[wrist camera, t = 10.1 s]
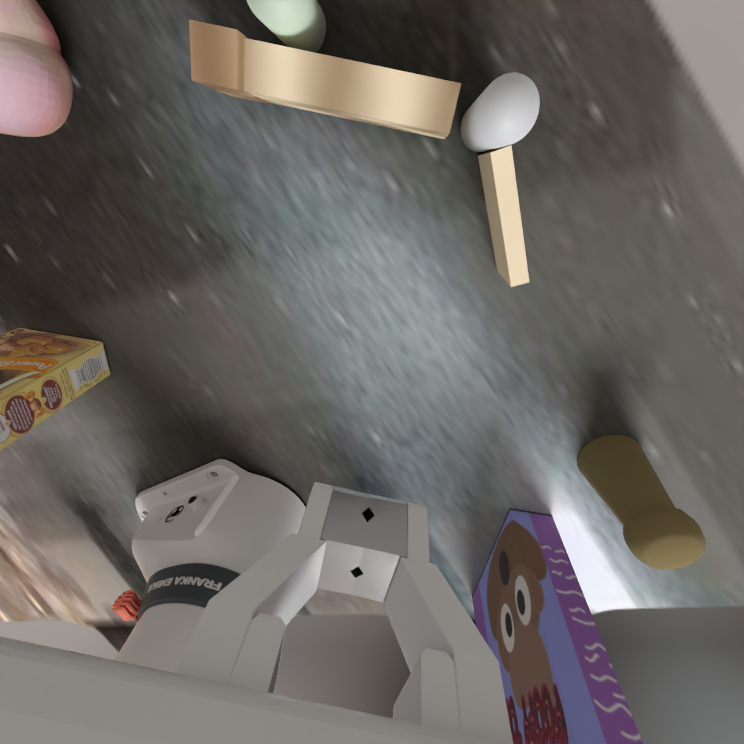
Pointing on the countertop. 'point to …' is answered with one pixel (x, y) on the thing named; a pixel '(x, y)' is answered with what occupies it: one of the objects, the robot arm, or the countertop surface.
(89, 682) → the robot arm
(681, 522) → the cork
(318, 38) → the posts
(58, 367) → the candy box
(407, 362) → the countertop surface
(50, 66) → the decorative fruit
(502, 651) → the cereal box
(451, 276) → the countertop surface
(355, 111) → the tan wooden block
